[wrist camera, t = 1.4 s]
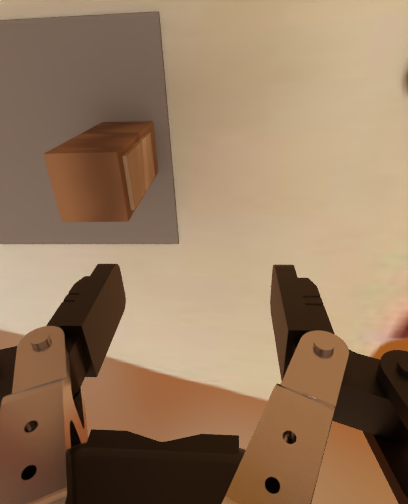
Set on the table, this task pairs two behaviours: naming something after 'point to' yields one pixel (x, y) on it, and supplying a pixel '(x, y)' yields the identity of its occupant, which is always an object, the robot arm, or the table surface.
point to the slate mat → (79, 120)
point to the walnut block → (103, 171)
